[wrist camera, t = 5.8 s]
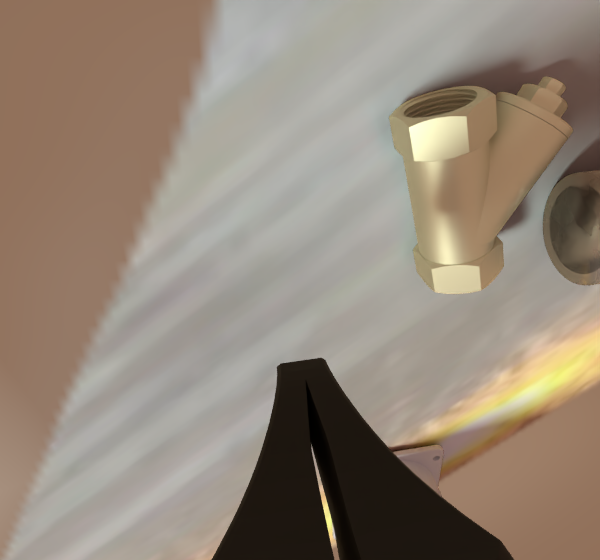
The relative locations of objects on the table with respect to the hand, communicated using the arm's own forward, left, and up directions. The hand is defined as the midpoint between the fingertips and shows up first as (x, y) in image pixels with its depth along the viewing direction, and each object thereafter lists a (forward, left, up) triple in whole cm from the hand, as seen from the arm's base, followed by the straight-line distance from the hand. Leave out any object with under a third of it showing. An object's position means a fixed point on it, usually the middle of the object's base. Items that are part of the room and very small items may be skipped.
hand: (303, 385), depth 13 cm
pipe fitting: (+2, -9, -10) cm, 14 cm away
